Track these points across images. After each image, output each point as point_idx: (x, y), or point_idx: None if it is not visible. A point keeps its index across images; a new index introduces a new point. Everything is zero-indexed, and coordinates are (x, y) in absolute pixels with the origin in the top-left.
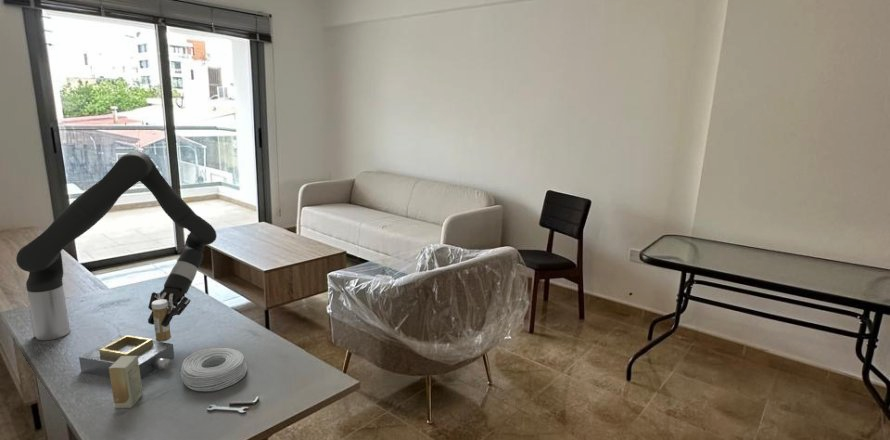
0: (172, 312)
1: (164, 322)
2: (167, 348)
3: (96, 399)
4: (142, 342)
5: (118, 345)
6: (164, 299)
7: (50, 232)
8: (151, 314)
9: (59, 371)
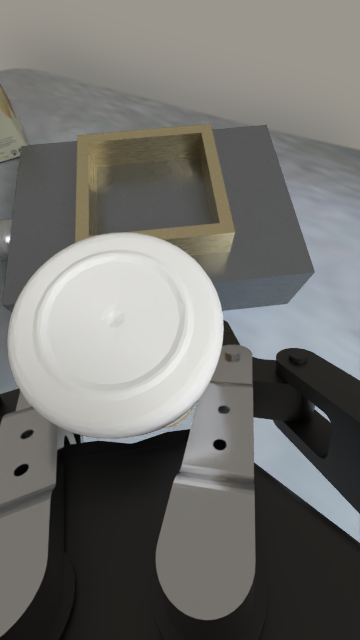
0: (17, 395)
1: None
2: (8, 275)
3: (90, 124)
4: None
5: (209, 199)
6: (109, 418)
7: None
8: (231, 343)
9: (310, 160)
